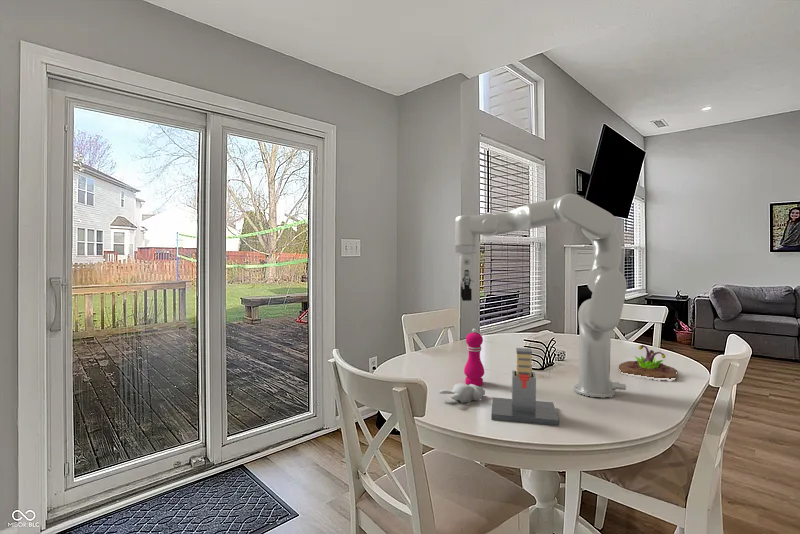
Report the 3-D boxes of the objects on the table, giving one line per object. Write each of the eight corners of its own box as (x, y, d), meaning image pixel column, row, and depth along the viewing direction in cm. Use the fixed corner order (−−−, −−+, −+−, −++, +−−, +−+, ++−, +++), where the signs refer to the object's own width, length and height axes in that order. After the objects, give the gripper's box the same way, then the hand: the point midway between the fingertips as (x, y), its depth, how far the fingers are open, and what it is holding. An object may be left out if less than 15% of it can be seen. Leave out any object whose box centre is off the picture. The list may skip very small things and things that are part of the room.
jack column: (530, 404, 125) (531, 348, 125) (531, 410, 121) (532, 352, 120) (515, 403, 126) (516, 347, 126) (516, 408, 122) (516, 351, 121)
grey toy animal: (491, 387, 135) (457, 390, 127) (490, 403, 135) (455, 407, 126) (471, 380, 143) (437, 382, 134) (469, 395, 143) (435, 398, 134)
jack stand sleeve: (553, 407, 128) (553, 367, 128) (558, 425, 115) (559, 380, 114) (492, 402, 133) (492, 363, 132) (491, 419, 119) (491, 376, 119)
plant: (623, 364, 179) (623, 338, 178) (678, 372, 167) (679, 344, 167) (615, 375, 163) (615, 347, 162) (675, 385, 151) (676, 354, 151)
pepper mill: (484, 387, 148) (484, 330, 147) (463, 385, 149) (463, 329, 148) (484, 381, 155) (484, 326, 154) (464, 379, 156) (464, 326, 155)
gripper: (478, 250, 139) (478, 301, 140) (475, 250, 156) (475, 296, 157) (455, 250, 140) (456, 301, 141) (454, 250, 157) (454, 296, 158)
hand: (466, 298), depth 149 cm, fingers open, 9 cm apart
